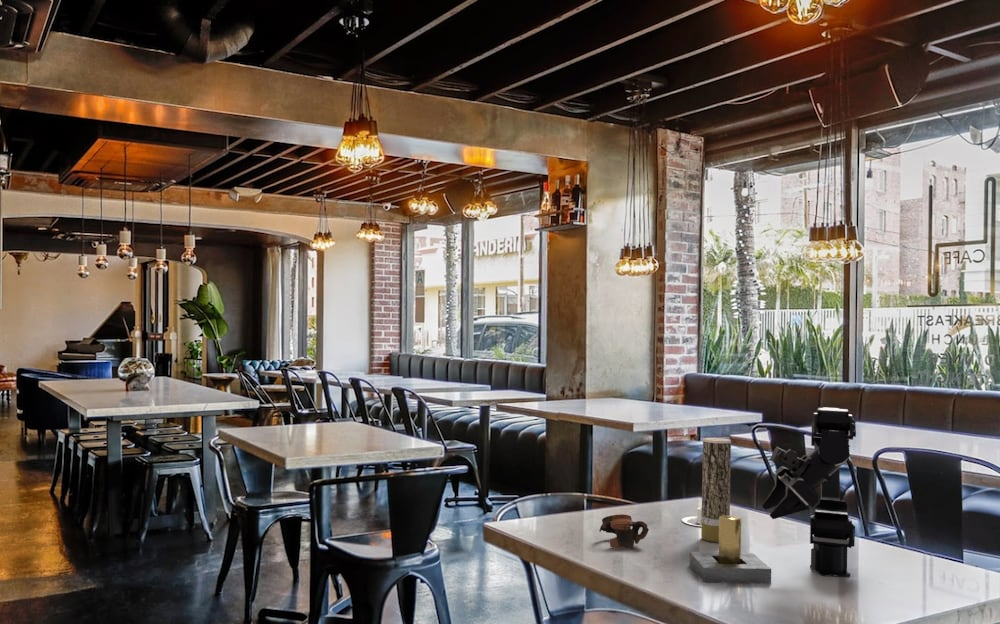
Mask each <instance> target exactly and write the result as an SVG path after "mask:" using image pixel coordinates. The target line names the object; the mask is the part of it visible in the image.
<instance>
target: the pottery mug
mask: <svg viewBox="0 0 1000 624" xmlns="http://www.w3.org/2000/svg"><path fill="white" fill-rule="evenodd" d="M632 519H633V518H632V516H631V515H630V514H629V515H628V514H620V513H619V514H613V515H609V516H605V517H603V518H602V519H601V522H602V524H601V526H600V527H599V532H602V531H603V532H605V533H607V534H615V537H612V538H610V539H609V540H608V542H609V546H610V548H611V547H613V548H612V549H617V548H625V549H626V548H627V549H634V546H635V544H636V545H637V544H639V542H640V541H641V540H644V539H645V538H646V537H647V535H648V532H649V527H648V524H647V523H646V522H644V521H642V520H638V521H633V520H632ZM641 528H642V529H641ZM640 529H641V532H640V533H639V530H640Z"/></svg>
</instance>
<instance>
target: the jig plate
mask: <svg viewBox="0 0 1000 624" xmlns="http://www.w3.org/2000/svg"><path fill="white" fill-rule="evenodd" d="M718 556H719V551H715V552H714V551H689V567H690V568H691V569H692V570H693V571H694V573H696V575H697V576H698V577H699V578H700V580H701V581H702V582H703V583H723V582H724V584H725V582H726V583H727V584H728V583H729V584H730V583H732V584H772V568H771V567H770V566H769V565H768V564H767V563H765V562H764V561H763V560H761V558H759V557H758V556H757V555H756V554H755V553H753V552H741V564H719V563H718ZM734 582H735V583H734ZM736 582H737V583H736Z"/></svg>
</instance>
